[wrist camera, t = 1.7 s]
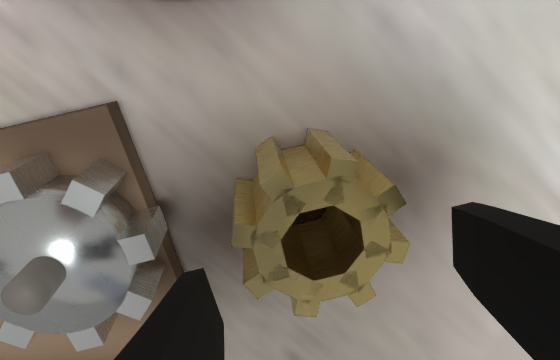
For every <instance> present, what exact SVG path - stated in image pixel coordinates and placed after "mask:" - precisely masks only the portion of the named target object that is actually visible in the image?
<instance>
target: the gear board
mask: <svg viewBox="0 0 560 360" xmlns="http://www.w3.org/2000/svg"><path fill="white" fill-rule="evenodd" d="M48 151H49V153H50V156H51V158H52V160H53V162H54V164H55V166H56V168H57V170H58V172H59V174H60V175H77V176H78V175H79V174H80V173H82V172H83V171H84V170H86V169H87V168H88V167H90V166H91V165H92V164H93V163H95V162H96V161H97V160H99V159H100V158H101V159H103V160H105V161H107V162H109V163H111V164H113V165H115V166H117V167H119V168H121V169H123V170H125V171H127V173H126V175H125V176H124V178H123V180H122V182H121V184H120V186H119V188H118V190H117V192H119V193H120V194H121V195H122V196H123V197H125V198H126V199H127V200H128V201H129V202H130V203H131V205H132V206H133V207H134V208H135V210H136V211H138V210H142V209H146V208H150V207H155V206H157V204H156V201H155V199H154V196H153V194H152V191H151V188H150V186H149V183H148V181H147V178H146V176H145V173H144V171H143V168H142V165H141V163H140V160H139V158H138V155H137V153H136V150H135V148H134V145H133V142H132V140H131V137H130V135H129V132H128V130H127V127H126V125H125V122H124V119H123V117H122V114H121V112H120V109H119V107H118V104H117V102H116V101H115V102H111V103H107V104H103V105H98V106H94V107H90V108H86V109H81V110H77V111H73V112H69V113H64V114H60V115H56V116H52V117H48V118H43V119H39V120H35V121H31V122H26V123H22V124H18V125H14V126H9V127H5V128H1V129H0V168H1V167H3V166H5V165H7V164H9V163H11V162H13V161H15V160H17V159H19V158H23V157H27V156H31V155H35V154H39V153H44V152H48ZM154 260H156V261H159V262H161V263H163V264H165V266H164V269H163V272H162V275H161V278H160V280H159V283H158V286H157V289H156V292H155V294H154V297H153V300H152V302H151V304H150V305H149V307H148V308H147V310H146V312H145V313H144V315H143V316H142V318H141V320H140V321H139V320H136V319H134V318H131V317H129V316H126V315H123V314H121V313H119V314H118V316H117V318H116V320H115V322H114V324H113V326H112V329H111V331H110V333H109V335H108V337H107V339H106V341H105V344H104V345H102V346H98V347H94V348H90V349H86V350H82V351H76V349H75V348H74V346H73V344H72V342H71V341H70V339H69V337H68V336H67V334H66V333H63V334H49V333H40V332H37V334H36V335H35V337H34V338H33V339H32V341H31V342H30V343H29V345H28V346H27V348H26V349H23V348H20V347H17V346H14V345H11V344H8V343H5V342H2V341H0V360H114V359H115V357H116V356H117V355H118V354H119V353H120V351H121V350H122V349H123V348H124V347H125V345H126V344H127V343H128V342H129V341H130V340H131V338H132V337H133V336H134V335H135V334H136V332H137V331H138V330H139V329H140V327H141V326H142V325H143V324H144V322H145V321H146V320H147V318H148V317H149V316H150V315H151V313H152V312H153V311H154V309H155V308H156V307H157V305H158V304H159V303H160V301H161V300H162V299H163V297H164V296H165V295H166V293H167V292H168V291H169V289H170V288H171V287H172V285H173V284H174V283H175V282H176V280H177V279H178V278H179V276H180V275H181V274H182V273H183V270H182V268H181V265H180V263H179V260H178V257H177V255H176V252H175V250H174V247H173V245H172V242H171V240H170V237H169V234H168V232H167V231H166V234H165V236H164V239H163V241H162V243H161V246H160V248H159V251H158V253H157V255H156V258H155V259H154ZM65 278H66V269H65V267H64V266H63V264H62V263H61V262H59V261H58V260H56V259H54V258H52V257H47V256H40V257H36V258H34V259H32V260H31V261H30V262H29V263H28V264H27V265H26V266H25V267H24V268H23V269H22V270H21V271H20V272H19V273H18V274H17V275H16V276H15V277H14V278H13V279H12V280H11V281H10V282H9V283H8V284H7V285H6V286H5V287H4V288H3V289H2V291H1V300H2V302H3V304H4V305H5V306H6V307H7V308H8V309H9V310H11V311H12V312H15V313H17V314H22V315H31V314H35V313H38V312H39V311H41V310H42V309H43V308H44V306H45V305H46V304H47V302H48V301H49V300H50V299H51V297H52V296H53V295H54V293H55V292H56V291H57V289H58V288H59V287H60V285H61V284H62V283H63V282H64V280H65ZM3 323H4V321H3V320H1V319H0V329H1V327H2V325H3Z"/></svg>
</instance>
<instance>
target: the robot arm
mask: <svg viewBox="0 0 560 360" xmlns="http://www.w3.org/2000/svg"><path fill="white" fill-rule="evenodd" d="M452 236H453V266H454V268H455V269H456V271H457V272H458V274H459V275H460V276H461V278H462V279H463V281H464V282H465V284H466V285H467V286H468V288H469V289H470V290H471V292H472V293H473V294H474V296H475V297H476V298H477V299H478V300H479V301H480V303H481V304H482V305H483V306H484V307H485V308H486V309H487V310H488V311H489V312H490V313H491V315H492V316H493V317H494V318H495V319H496V320H497V321H498V322H499V323H500V324H501V325H502V326H503V327H504V329H505V330H506V331H507V332H508V333H509V334H510V335H511V336H512V337H513V338H514V339H515V340H516V341H517V342H518V343H519V345H520V346H521V347H522V348H523V349H524V350H525V351H526V352H527V353H528V354H529V355H530V356H531V357H532V359H534V360H560V225H556V224H553V223H549V222H546V221H542V220H538V219H535V218H531V217H528V216H524V215H521V214H518V213H514V212H511V211H507V210H503V209H500V208H496V207H492V206H488V205H484V204H480V203H475V202H471V203H467V204H463V205H459V206H454V207H452ZM114 360H224V323H223V320H222V318H221V315H220V312H219V309H218V307H217V304H216V301H215V298H214V296H213V293H212V290H211V287H210V285H209V282H208V279H207V276H206V274H205V271H204V268H201V269H197V270H193V271H189V272H185V273H182V274H181V275H180V276H179V278H178V279H177V280H176V282H175V283H174V284H173V285H172V287H171V288H170V289H169V291H168V292H167V293H166V295H165V296H164V297H163V299H162V300H161V301H160V303H159V304H158V305H157V307H156V308H155V309H154V311H153V312H152V313H151V315H150V316H149V317H148V318H147V320H146V321H145V322H144V324H143V325H142V326H141V327H140V329H139V330H138V331H137V332H136V334H135V335H134V336H133V337H132V338H131V340H130V341H129V342H128V343H127V344H126V345H125V347H124V348H123V349H122V350H121V351H120V353H119V354H118V355H117V356H116V357H115V359H114Z"/></svg>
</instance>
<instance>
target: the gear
mask: <svg viewBox="0 0 560 360" xmlns="http://www.w3.org/2000/svg"><path fill="white" fill-rule="evenodd" d="M126 173H127V171H125V170H123V169H121V168H119V167H117V166H115V165H113V164H111V163H109V162H107V161H105V160H103V159H101V158H100V159H99V160H97V161H96V162H95V163H93V164H92V165H91V166H90V167H88V168H87V169H86V170H84V171H83V172H82V173H80V174H79V175H78V176H77V175H60V174H59V172H58V170H57V168H56V166H55V164H54V162H53V160H52V158H51V156H50V153H49V151H48V152H44V153H39V154H35V155H31V156H27V157H23V158H19V159H17V160H15V161H13V162H11V163H9V164H7V165H5V166H3V167H1V168H0V319H1V320H3V321H4V323H3V325H2V327H1V329H0V341H2V342H5V343H8V344H11V345H14V346H17V347H20V348H23V349H26V348H27V346H28V345H29V343H30V342H31V341H32V339H33V338H34V337H35V335H36V334H37V332H40V333H49V334H63V333H66V334H67V336H68V337H69V339H70V341H71V342H72V344H73V346H74V348H75V349H76V351H82V350H86V349H90V348H94V347H98V346H102V345H104V344H105V341H106V339H107V337H108V335H109V333H110V331H111V329H112V326H113V324H114V322H115V320H116V318H117V316H118V314H119V313H121V314H123V315H126V316H129V317H131V318H134V319H136V320H139V321H140V320H141V318H142V316H143V315H144V313H145V312H146V310H147V308H148V307H149V305H150V304H151V302H152V300H153V297H154V294H155V292H156V289H157V286H158V283H159V280H160V278H161V275H162V272H163V269H164V266H165V264H163V263H161V262H159V261H156V260H154V259H155V258H156V255H157V253H158V251H159V248H160V246H161V243H162V241H163V239H164V236H165V234H166V231H167V229H168V226H167V224H166V221H165V218H164V216H163V213H162V211H161V208H160V206H155V207H150V208H146V209H142V210H138V211H136V210H135V208H134V207H133V206H132V205H131V203H130V202H129V201H128V200H127V199H126V198H125V197H123V196H122V195H121V194H120V193H119V192H117V190H118V188H119V186H120V184H121V182H122V180H123V178H124V176H125V175H126ZM40 256H47V257H52V258H54V259H56V260H58V261H59V262H61V263H62V264H63V266H64V267H65V269H66V278H65V280H64V282H63V283H62V284H61V285H60V287H59V288H58V289H57V291H56V292H55V293H54V295H53V296H52V297H51V299H50V300H49V301H48V302H47V304H46V305H45V306H44V308H43V309H42V310H41V311H39V312H38V313H35V314H31V315H22V314H17V313H15V312H12V311H11V310H9V309H8V308H7V307H6V306H5V305H4V304H3V302H2V300H1V291H2V289H3V288H4V287H5V286H6V285H7V284H8V283H9V282H10V281H11V280H12V279H13V278H14V277H15V276H16V275H17V274H18V273H19V272H20V271H21V270H22V269H23V268H24V267H25V266H26V265H27V264H28V263H29V262H30V261H31V260H32V259H34V258H36V257H40Z"/></svg>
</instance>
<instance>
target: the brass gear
mask: <svg viewBox="0 0 560 360" xmlns="http://www.w3.org/2000/svg"><path fill="white" fill-rule="evenodd" d="M255 150H256V158H257V165H258V174H257V175H256V177H255V178H254V180H247V179H239V178H237V179H236V186H235V193H234V207H233V225H232V243H231V247H241V248H243V284H244V286H245V287H246V288H247V289H248V290H249V291H250V292H251V293H252V294H253V295H254V296H255V297H256V298H257V299H259V298H261V297H262V296H264V295H266V294H267V293H269V292H270V291H272V290H273V289H276V290H278V291H280V292H282V293H284V294H287V295H289V296H290V297H291V302H292V307H293V313H294V316H306V317H316V316H317V313H318V309H319V305H320V301H324V300H328V299H332V298H336V297H340V296H344V295H348V296H349V298H350V299H351V300H352V301H353V303H354V304H355V305H356V306H357V307H358V306H360V305H361V304H363V303H364V302H366V301H368V300H369V299H371V298H373V297H374V296H376V293H375V292H374V290H373V288H372V286H371V284H370V282H369V279H370V278H371V277H372V276H373V275H374V273H375V272H376V271H377V270H378V268H379V267H380V266H381V265H382V264H383V262H393V263H403V262H404V259H405V256H406V253H407V250H408V247H409V245H410V242H409V241H408V240H407V239H406V238H405V237H404V236H403V234H402V233H401V232H400V231H399V230H398V229H397V227H396V226H395V225H394V224H393V223H392V222H391V220H390V219H389V218H388V215H390V214H391V213H393V212H394V211H396V210H397V209H399V208H401V207H402V206H404V205H405V204H406V202H405V200H404V199H403V197H402V195H401V194H400V192H399V191H398V189H397V187H396V186H395V184H394V183H392V182H391V181H390V180H389V179H388V178H387V177H386V176H385V175H383V174H382V173H381V172H380V171H379V170H378V169H377V168H376V167H374V166H373V165H372V164H371V163H370V162H369V161H368V160H367V159H365V158H364V157H363V156H362V155H361V154H360V153H359V152H358V151H356V150H354V151H352V152H351V153H349V152H348V151H346V150H345V149H344V148H343V147H342V146H341V145H340V144H339V143H338V142H337V141H336V140H335V139H334V138H333V137H332V136H331V135H330V134H329V133H328V132H327V131H322V130H316V129H309V128H307V133H306V138H305V143H304V145H301V146H297V147H292V148H288V149H284V150H281V149H280V148H279V146H278V145H277V144H276V142H275V141H274V140H273V138H272V137H271V138H269V139H268V140H266V141H265V142H264V143H262V144H261V145H259V146H258V147H257V148H255ZM328 206H329V207H328ZM324 207H328V209H327V210H326V211H325V213H324V214H323V216H322V217H321V218H320V219H317V220H313V221H309V222H305V223H301V224H295V223H293V222H294V220H295V219H296V217H297V216H298V215H299V213H304V212H308V211H312V210H316V209H320V208H324Z"/></svg>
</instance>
